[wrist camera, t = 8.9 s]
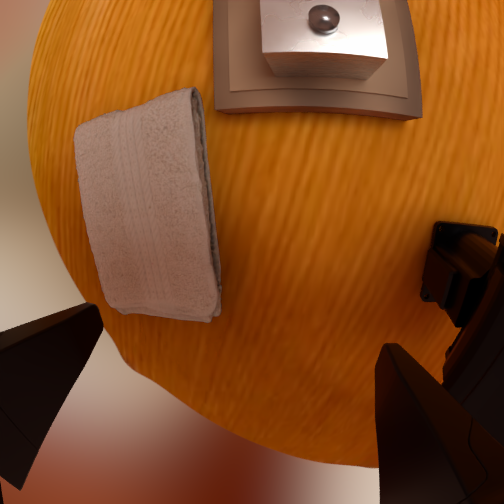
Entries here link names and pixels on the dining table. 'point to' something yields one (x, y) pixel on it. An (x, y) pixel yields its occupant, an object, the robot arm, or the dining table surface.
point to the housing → (323, 38)
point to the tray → (311, 88)
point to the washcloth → (152, 207)
